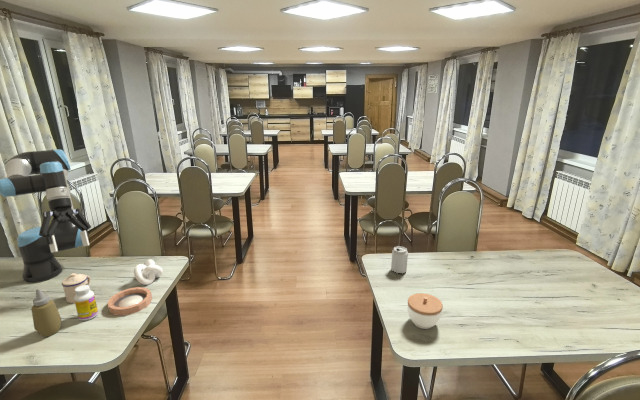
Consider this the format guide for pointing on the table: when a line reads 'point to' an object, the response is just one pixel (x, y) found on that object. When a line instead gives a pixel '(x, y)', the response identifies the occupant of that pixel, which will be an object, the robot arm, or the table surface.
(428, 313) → the lidded bowl
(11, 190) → the robot arm
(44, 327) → the squeeze bottle
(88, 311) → the supplement bottle
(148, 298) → the saucer tray
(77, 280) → the teacup with lid
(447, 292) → the table surface
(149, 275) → the white decorative knot
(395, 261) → the can
